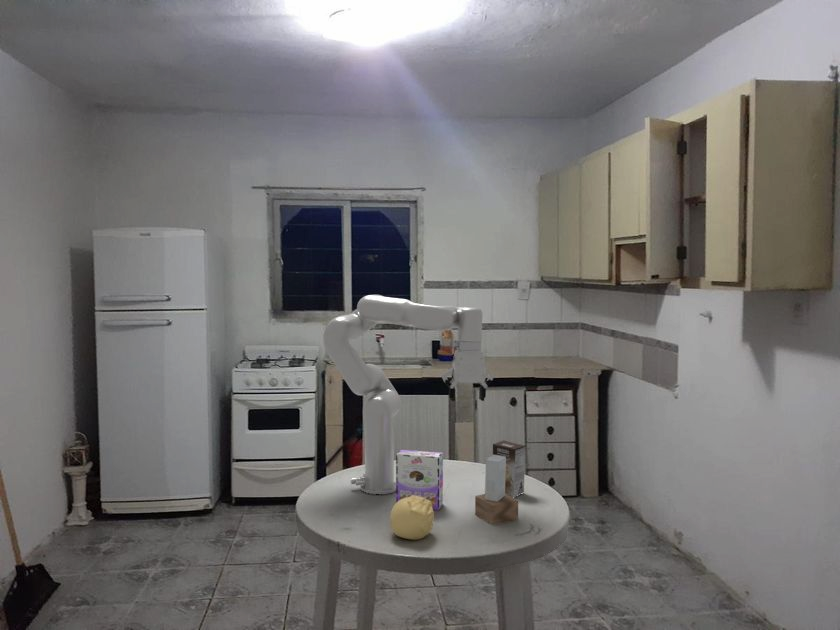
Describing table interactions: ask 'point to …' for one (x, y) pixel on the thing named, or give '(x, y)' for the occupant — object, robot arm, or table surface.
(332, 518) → the table surface
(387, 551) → the table surface
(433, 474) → the candy box
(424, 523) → the pale yellow round lump
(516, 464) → the coffee box
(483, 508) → the brown cardboard box
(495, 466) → the skincare box
